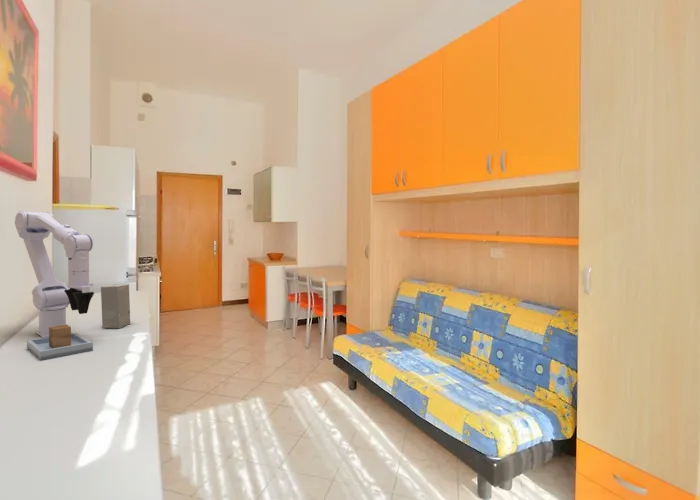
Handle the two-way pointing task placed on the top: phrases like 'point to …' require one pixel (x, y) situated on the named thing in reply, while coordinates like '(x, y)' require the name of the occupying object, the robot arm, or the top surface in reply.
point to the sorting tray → (46, 352)
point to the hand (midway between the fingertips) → (79, 311)
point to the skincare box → (115, 305)
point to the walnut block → (59, 336)
